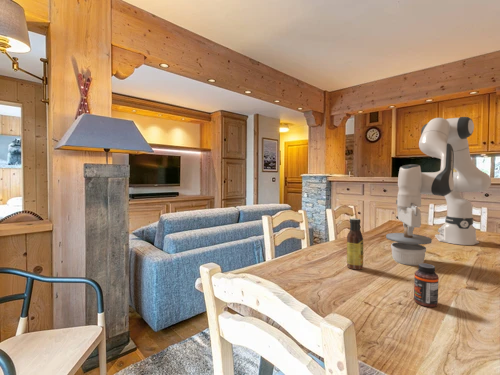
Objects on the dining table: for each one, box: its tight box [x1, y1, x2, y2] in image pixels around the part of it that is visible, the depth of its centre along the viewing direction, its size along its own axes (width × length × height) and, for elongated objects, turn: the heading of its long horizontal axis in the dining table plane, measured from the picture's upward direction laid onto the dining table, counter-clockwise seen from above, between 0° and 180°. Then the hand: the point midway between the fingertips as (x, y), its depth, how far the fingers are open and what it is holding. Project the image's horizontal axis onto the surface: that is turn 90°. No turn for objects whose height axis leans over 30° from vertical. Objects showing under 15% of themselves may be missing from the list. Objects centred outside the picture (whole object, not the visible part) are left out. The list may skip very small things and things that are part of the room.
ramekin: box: [390, 242, 427, 266], centre depth 118 cm, size 13×13×7 cm
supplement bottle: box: [413, 262, 440, 308], centre depth 80 cm, size 6×6×11 cm
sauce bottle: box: [346, 218, 364, 270], centre depth 110 cm, size 6×6×20 cm
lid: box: [385, 226, 433, 245], centre depth 118 cm, size 17×17×5 cm
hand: (408, 234), depth 118 cm, fingers closed on lid, 3 cm apart
